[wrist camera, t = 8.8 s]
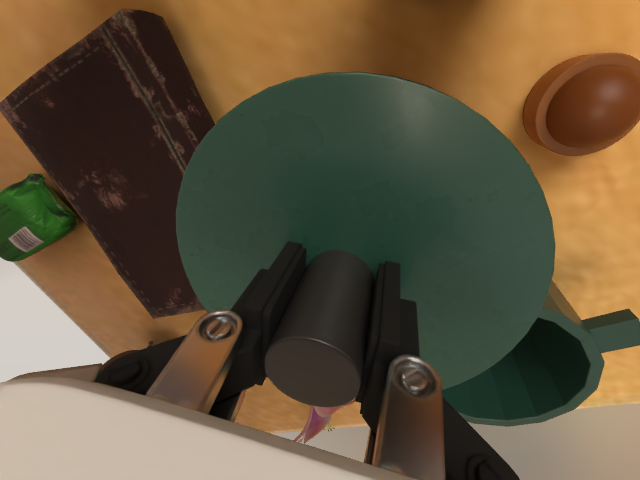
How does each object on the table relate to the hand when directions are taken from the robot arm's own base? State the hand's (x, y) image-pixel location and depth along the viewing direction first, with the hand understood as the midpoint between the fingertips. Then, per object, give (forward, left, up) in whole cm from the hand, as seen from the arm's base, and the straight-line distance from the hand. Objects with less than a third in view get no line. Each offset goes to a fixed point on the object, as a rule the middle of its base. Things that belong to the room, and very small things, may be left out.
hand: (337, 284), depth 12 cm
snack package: (+5, -41, -17) cm, 45 cm away
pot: (+14, +10, -17) cm, 24 cm away
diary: (+2, -21, -17) cm, 27 cm away
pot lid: (0, 0, -1) cm, 1 cm away
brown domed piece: (-4, +14, -17) cm, 22 cm away
